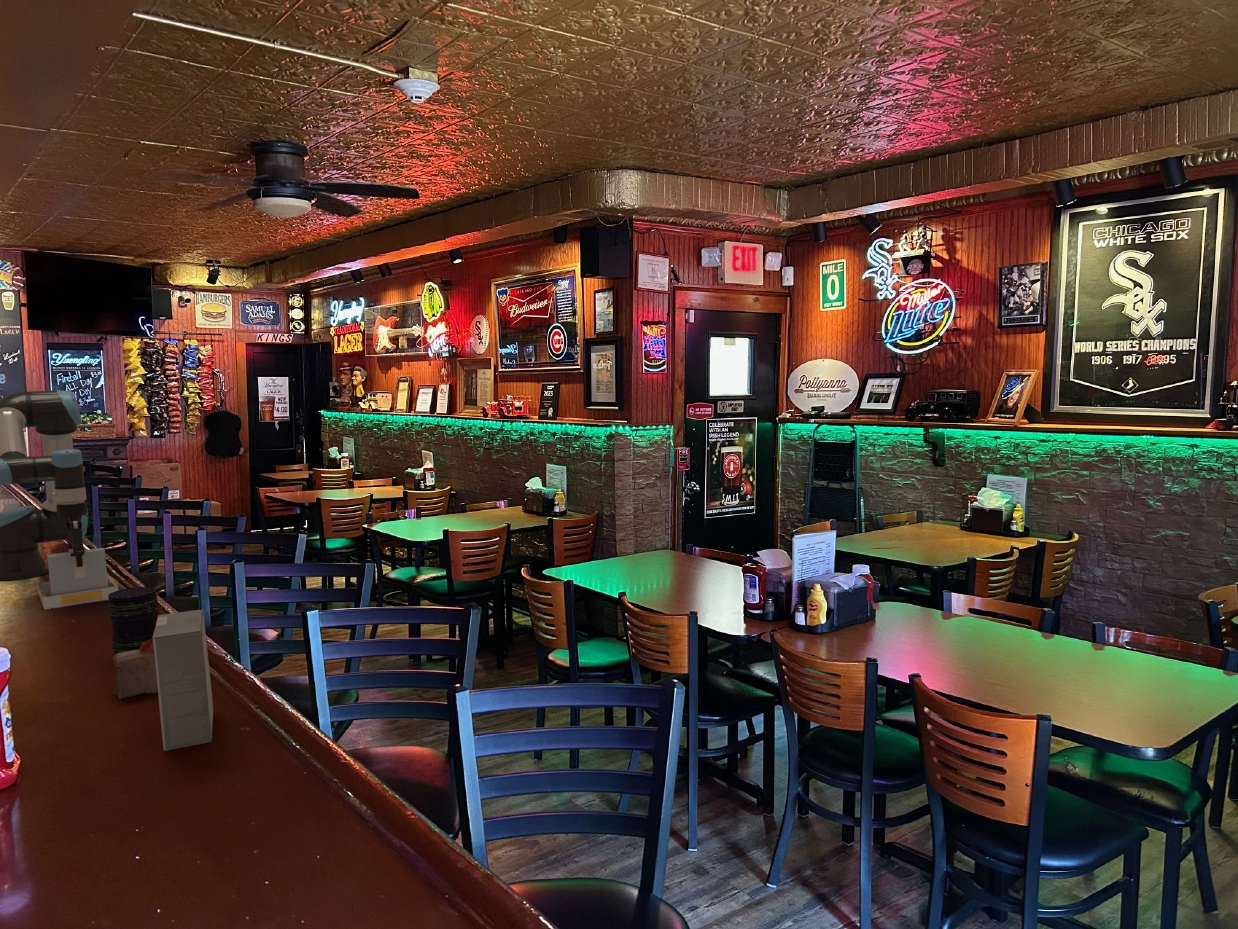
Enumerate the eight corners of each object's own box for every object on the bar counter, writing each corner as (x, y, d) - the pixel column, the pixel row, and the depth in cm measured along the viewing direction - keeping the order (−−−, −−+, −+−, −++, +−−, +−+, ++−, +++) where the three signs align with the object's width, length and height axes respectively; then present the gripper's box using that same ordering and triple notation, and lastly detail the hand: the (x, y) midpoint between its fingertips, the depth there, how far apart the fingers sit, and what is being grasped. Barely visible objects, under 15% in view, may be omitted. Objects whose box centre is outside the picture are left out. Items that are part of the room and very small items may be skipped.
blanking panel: (51, 601, 250) (47, 554, 249) (107, 593, 258) (102, 547, 257) (53, 605, 246) (48, 557, 245) (109, 596, 254) (104, 550, 253)
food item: (186, 676, 181) (182, 631, 180) (195, 686, 175) (191, 639, 174) (112, 692, 173) (108, 644, 172) (118, 703, 167) (114, 654, 166)
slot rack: (38, 594, 262) (37, 582, 262) (108, 584, 274) (107, 573, 273) (44, 610, 243) (42, 597, 243) (119, 598, 254) (118, 586, 254)
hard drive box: (167, 720, 157) (158, 614, 155) (213, 712, 160) (204, 608, 158) (162, 752, 143) (151, 636, 141) (212, 743, 146) (203, 629, 144)
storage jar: (107, 664, 191) (101, 599, 189) (120, 651, 200) (114, 589, 199) (156, 659, 193) (150, 594, 192) (167, 647, 203) (161, 585, 201)
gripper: (52, 499, 257) (59, 569, 259) (59, 508, 237) (67, 583, 239) (81, 497, 262) (88, 565, 264) (91, 505, 242) (98, 578, 244)
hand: (78, 574), depth 252 cm, fingers open, 13 cm apart
